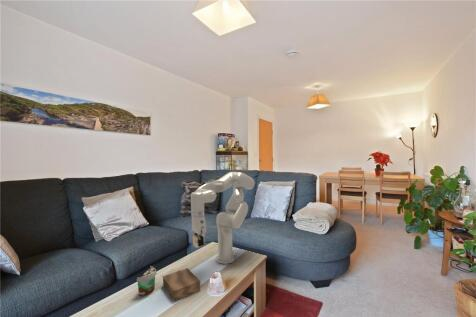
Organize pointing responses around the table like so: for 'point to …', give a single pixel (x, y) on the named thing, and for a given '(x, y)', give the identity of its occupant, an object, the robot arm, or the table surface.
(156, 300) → the table surface
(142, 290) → the food container
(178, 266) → the table surface
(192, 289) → the walnut box
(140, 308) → the table surface
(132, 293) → the table surface
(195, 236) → the birch block
